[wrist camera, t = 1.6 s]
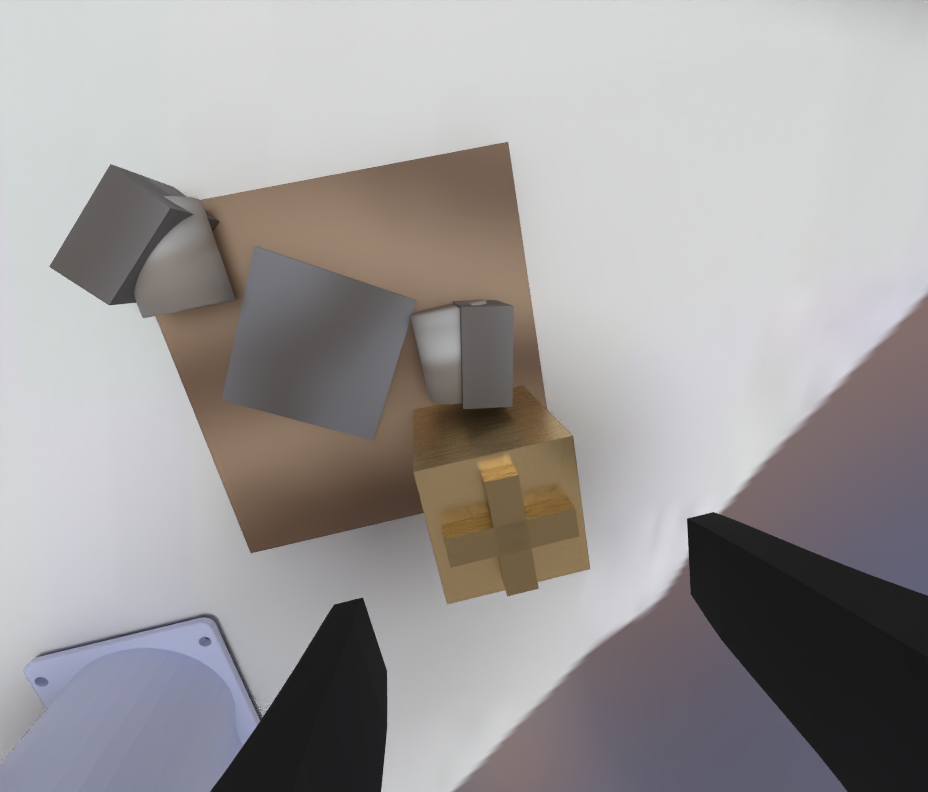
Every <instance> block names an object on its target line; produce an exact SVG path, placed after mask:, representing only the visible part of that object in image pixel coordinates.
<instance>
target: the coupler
mask: <svg viewBox="0 0 928 792" xmlns="http://www.w3.org/2000/svg"><path fill="white" fill-rule="evenodd" d="M413 472H414V476H415V480H416V484H417V488H418V492H419V496H420V500H421V504H422V508H423V511H424V515H425V519H426V523H427V527H428V531H429V535H430V539H431V543H432V547H433V551H434V555H435V559H436V563H437V567H438V571H439V575H440V578H441V582H442V586H443V590H444V594H445V598H446V602H447V604H450V603H454V602H458V601H462V600H466V599H470V598H474V597H479V596H483V595H487V594H491V593H495V592H499V591H503V590H506V593H507V596H510V595H514V594H518V593H522V592H526V591H530V590H534V589H538V583H537V582H539V581H543V580H547V579H551V578H555V577H560V576H564V575H568V574H572V573H576V572H580V571H584V570H588V569H590V564H589V556H588V549H587V541H586V533H585V525H584V518H583V510H582V502H581V494H580V487H579V479H578V471H577V463H576V456H575V448H574V440H573V435H572V434H571V433H570V432H569V431H568V430H567V429H566V428H565V427H564V426H563V425H562V424H561V423H560V422H559V421H558V420H557V419H556V418H555V417H554V416H553V415H552V414H551V413H550V412H549V411H548V410H547V409H546V408H545V407H544V406H543V405H542V404H541V403H540V402H539V401H538V400H537V399H536V398H535V397H534V396H533V395H532V394H531V393H530V392H529V391H528V390H527V389H526V388H525V387H524V386H523V385H522V386H518V387H513V407H497V408H478V409H463V407H462V404H461V403H459V404H436V405H432V406H427V407H423V408H418V409H413Z"/></svg>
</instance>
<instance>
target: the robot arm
mask: <svg viewBox="0 0 928 792" xmlns="http://www.w3.org/2000/svg"><path fill="white" fill-rule="evenodd" d="M687 525H688V546H689V566H690V587H691V595H692V597H693V598H694V600H695V601H696V603H697V604H698V605H699V607H700V609H701V610H702V612H703V613H704V615H705V617H706V618H707V620H708V621H709V622H710V624H711V625H712V627H713V628H714V630H715V631H716V633H717V634H718V635H719V637H720V638H721V640H722V641H723V642H724V643H725V645H726V646H727V647H728V648H729V649H730V651H731V652H732V653H733V654H734V655H735V657H736V658H737V659H738V660H739V661H740V663H741V664H742V665H743V666H744V667H745V668H746V670H747V671H748V672H749V673H750V675H751V676H752V677H753V678H754V679H755V680H756V682H757V683H758V684H759V685H760V686H761V687H762V689H763V690H764V691H765V692H766V693H767V694H768V696H769V697H770V698H771V699H772V700H773V702H774V703H775V704H776V705H777V706H778V707H779V709H780V710H781V711H782V712H783V713H784V714H785V715H786V717H787V718H788V719H789V720H790V722H791V723H792V724H793V725H794V726H795V727H796V729H797V730H798V731H799V732H800V733H801V735H802V736H803V737H804V738H805V739H806V740H807V741H808V743H809V744H810V745H811V746H812V747H813V748H814V750H815V751H816V752H817V753H818V754H819V756H820V757H821V758H822V759H823V761H824V762H825V763H826V764H827V766H828V767H829V768H830V770H831V771H832V772H833V773H834V775H835V776H836V777H837V778H838V780H839V781H840V782H841V783H842V785H843V786H844V787H845V789H846V790H847V792H928V596H927V595H924V594H921V593H918V592H915V591H913V590H910V589H907V588H904V587H902V586H899V585H896V584H893V583H891V582H888V581H885V580H882V579H880V578H877V577H874V576H871V575H869V574H866V573H864V572H861V571H858V570H856V569H853V568H851V567H848V566H845V565H843V564H840V563H838V562H835V561H833V560H830V559H828V558H825V557H823V556H820V555H818V554H815V553H813V552H810V551H808V550H805V549H803V548H801V547H798V546H796V545H794V544H791V543H789V542H786V541H784V540H782V539H779V538H777V537H774V536H772V535H769V534H767V533H765V532H762V531H760V530H757V529H755V528H753V527H750V526H748V525H745V524H743V523H740V522H738V521H735V520H733V519H730V518H727V517H725V516H723V515H720V514H717V513H714V512H713V513H709V514H705V515H700V516H696V517H692V518H688V519H687ZM204 637H208V638H210V639H206V638H204ZM24 674H25V676H26V678H27V679H28V681H29V683H30V684H31V686H32V687H33V689H34V690H35V692H36V693H37V695H38V696H39V698H40V699H41V701H42V703H43V704H44V706H45V707H46V709H47V710H46V711H45V712H44V713H43V714H42V716H41V717H40V718H39V719H38V720H37V721H36V723H35V724H34V725H33V726H32V727H31V729H30V730H29V731H28V732H27V733H26V734H25V736H24V737H23V738H22V739H21V740H20V742H19V743H18V744H17V745H16V746H15V748H14V749H13V750H12V751H11V752H10V753H9V755H8V756H7V757H6V758H5V759H4V761H3V762H2V763H1V764H0V792H381V786H382V776H383V765H384V755H385V744H386V733H387V670H386V667H385V664H384V661H383V658H382V655H381V652H380V649H379V645H378V642H377V639H376V636H375V633H374V630H373V627H372V624H371V621H370V618H369V615H368V612H367V609H366V606H365V603H364V600H363V598H360V599H355V600H351V601H347V602H343V603H339V604H335V605H334V606H333V607H332V609H331V610H330V612H329V614H328V615H327V617H326V618H325V620H324V622H323V623H322V625H321V626H320V628H319V630H318V631H317V633H316V635H315V636H314V638H313V640H312V641H311V643H310V644H309V646H308V648H307V649H306V651H305V653H304V654H303V656H302V657H301V659H300V661H299V662H298V664H297V665H296V667H295V669H294V670H293V672H292V673H291V675H290V676H289V678H288V680H287V681H286V683H285V684H284V686H283V687H282V689H281V690H280V692H279V694H278V695H277V697H276V698H275V700H274V701H273V703H272V704H271V706H270V707H269V709H268V710H267V712H266V713H265V715H264V716H263V718H262V719H261V721H260V719H259V717H258V715H257V713H256V711H255V709H254V706H253V704H252V702H251V700H250V698H249V695H248V693H247V691H246V689H245V687H244V684H243V682H242V680H241V678H240V676H239V674H238V671H237V669H236V667H235V665H234V663H233V660H232V658H231V656H230V654H229V652H228V649H227V647H226V645H225V643H224V641H223V639H222V636H221V634H220V632H219V630H218V628H217V625H216V623H215V622H214V621H213V620H211V619H210V618H198V619H193V620H189V621H185V622H181V623H177V624H173V625H169V626H164V627H160V628H156V629H152V630H148V631H144V632H140V633H135V634H131V635H127V636H123V637H119V638H115V639H110V640H106V641H102V642H98V643H94V644H90V645H86V646H81V647H77V648H73V649H69V650H65V651H61V652H57V653H52V654H48V655H44V656H40V657H36V658H34V659H32V660H31V661H30V663H29V664H28V665H27V666H26V667H25V668H24Z"/></svg>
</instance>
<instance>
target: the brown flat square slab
mask: <svg viewBox="0 0 928 792" xmlns="http://www.w3.org/2000/svg"><path fill="white" fill-rule="evenodd" d="M50 267H51V268H52V269H54V270H55V271H57V272H58V273H60V274H61V275H63V276H64V277H66V278H68V279H69V280H71V281H72V282H74V283H75V284H77V285H78V286H80V287H82V288H83V289H85V290H86V291H88V292H89V293H91V294H92V295H94V296H96V297H97V298H99V299H100V300H102V301H103V302H105V303H106V304H108V305H116V304H126V303H136V302H137V305H138V307H139V310H140V312H141V315H142V317H143V318H146V317H152V316H156V319H157V321H158V324H159V326H160V328H161V331H162V333H163V336H164V338H165V341H166V343H167V346H168V348H169V351H170V353H171V356H172V358H173V361H174V363H175V366H176V368H177V371H178V373H179V376H180V378H181V381H182V383H183V386H184V388H185V391H186V393H187V396H188V398H189V401H190V403H191V406H192V408H193V410H194V413H195V415H196V418H197V420H198V423H199V425H200V428H201V430H202V433H203V435H204V438H205V440H206V443H207V445H208V448H209V450H210V453H211V455H212V458H213V460H214V463H215V465H216V468H217V470H218V473H219V475H220V478H221V480H222V483H223V485H224V488H225V490H226V492H227V495H228V497H229V500H230V502H231V505H232V507H233V510H234V512H235V515H236V517H237V520H238V522H239V525H240V527H241V530H242V532H243V535H244V537H245V540H246V542H247V545H248V547H249V550H250V552H251V553H254V552H258V551H262V550H267V549H271V548H275V547H279V546H284V545H288V544H292V543H297V542H301V541H305V540H309V539H314V538H318V537H322V536H326V535H331V534H335V533H339V532H343V531H348V530H352V529H356V528H361V527H365V526H369V525H373V524H378V523H382V522H386V521H390V520H395V519H399V518H403V517H407V516H412V515H416V514H420V513H424V511H423V508H422V504H421V500H420V496H419V492H418V488H417V484H416V480H415V476H414V472H413V409H418V408H423V407H427V406H432V405H436V404H459V403H461V404H462V407H463V409H478V408H497V407H513V387H518V386H522V385H523V386H524V387H525V388H526V389H527V390H528V391H529V392H530V393H531V394H532V395H533V396H534V397H535V398H536V399H537V400H538V401H539V402H540V403H541V404H542V405H543V406H544V407H545V408H546V409H547V406H546V399H545V393H544V386H543V379H542V372H541V365H540V358H539V351H538V344H537V337H536V331H535V324H534V317H533V310H532V303H531V296H530V289H529V282H528V276H527V269H526V262H525V255H524V248H523V241H522V234H521V227H520V221H519V214H518V207H517V200H516V193H515V186H514V179H513V172H512V165H511V159H510V152H509V145H508V142H505V143H500V144H494V145H489V146H484V147H479V148H473V149H468V150H463V151H457V152H452V153H447V154H442V155H436V156H431V157H426V158H420V159H415V160H410V161H404V162H399V163H394V164H389V165H383V166H378V167H373V168H367V169H362V170H357V171H352V172H346V173H341V174H336V175H330V176H325V177H320V178H315V179H309V180H304V181H299V182H293V183H288V184H283V185H277V186H272V187H267V188H262V189H256V190H251V191H246V192H240V193H235V194H230V195H225V196H219V197H214V198H209V199H203V200H199V199H196V198H191V197H186V196H185V195H184V194H182V193H181V192H180V191H178V190H177V189H176V188H174V187H172V186H169V185H166V184H164V183H161V182H158V181H155V180H153V179H150V178H147V177H144V176H142V175H139V174H136V173H133V172H131V171H128V170H125V169H122V168H120V167H117V166H114V165H111V164H110V166H109V168H108V169H107V171H106V173H105V174H104V176H103V178H102V179H101V181H100V183H99V184H98V186H97V188H96V189H95V191H94V193H93V194H92V196H91V198H90V200H89V201H88V203H87V205H86V206H85V208H84V210H83V211H82V213H81V215H80V216H79V218H78V220H77V221H76V223H75V225H74V226H73V228H72V230H71V231H70V233H69V235H68V236H67V238H66V240H65V241H64V243H63V245H62V246H61V248H60V250H59V251H58V253H57V255H56V256H55V258H54V260H53V262H52V263H51V265H50Z"/></svg>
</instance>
